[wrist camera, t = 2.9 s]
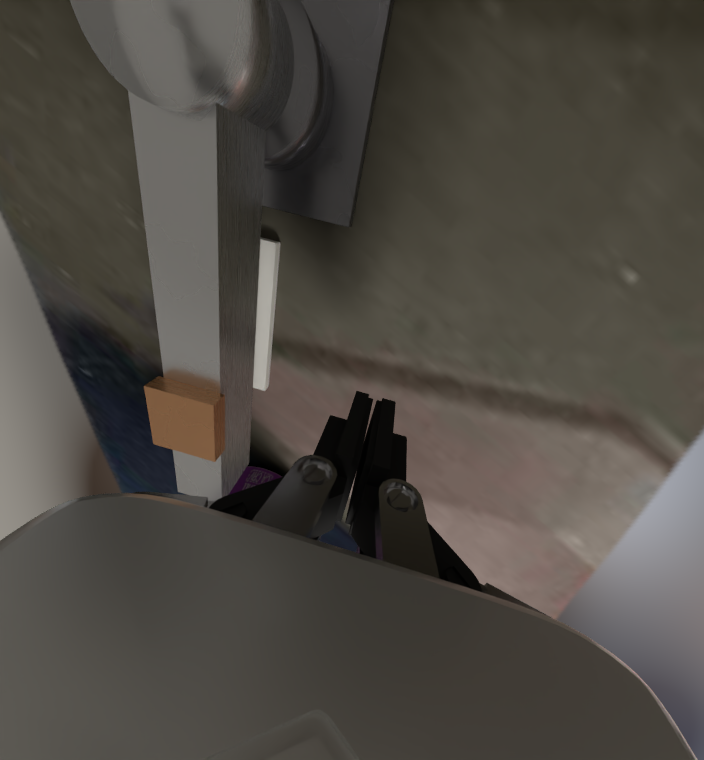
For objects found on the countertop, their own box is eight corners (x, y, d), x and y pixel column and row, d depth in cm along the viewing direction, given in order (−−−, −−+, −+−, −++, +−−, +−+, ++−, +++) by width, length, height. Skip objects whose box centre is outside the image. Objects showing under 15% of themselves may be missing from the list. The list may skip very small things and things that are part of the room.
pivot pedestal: (187, -65, 11) (102, -171, 8) (398, -20, 11) (392, -115, 8) (197, 188, 15) (143, 180, 12) (351, 226, 15) (336, 229, 12)
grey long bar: (166, -54, 8) (10, -228, 5) (301, -26, 8) (229, -187, 5) (198, 448, 18) (152, 499, 15) (261, 467, 18) (228, 522, 15)
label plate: (154, 210, 16) (143, 209, 15) (280, 242, 16) (274, 243, 15) (170, 359, 20) (162, 363, 20) (268, 386, 20) (263, 392, 19)
